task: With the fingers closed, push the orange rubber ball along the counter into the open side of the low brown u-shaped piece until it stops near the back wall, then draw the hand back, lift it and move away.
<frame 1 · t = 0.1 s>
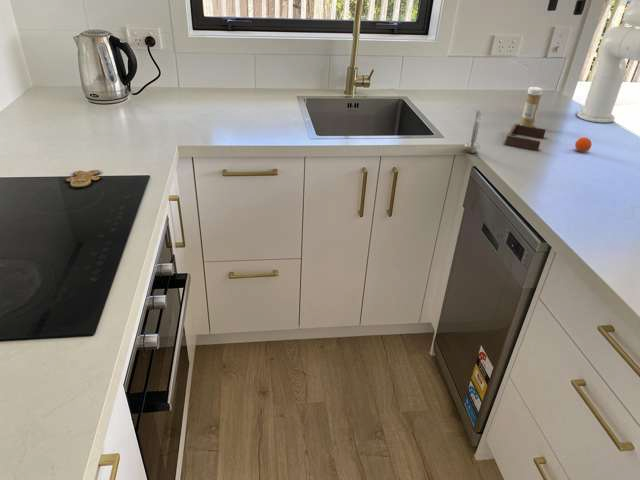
hand: (564, 12, 149), 37 cm above the worktop, tool pointing down, fingers open, 9 cm apart
cookie: (83, 180, 126), on the worktop
brown u-shaped piece: (524, 141, 158), on the worktop
screw: (470, 152, 149), on the worktop
ball: (583, 144, 150), point 2 cm above the worktop
sprinkles bottle: (526, 127, 171), on the worktop
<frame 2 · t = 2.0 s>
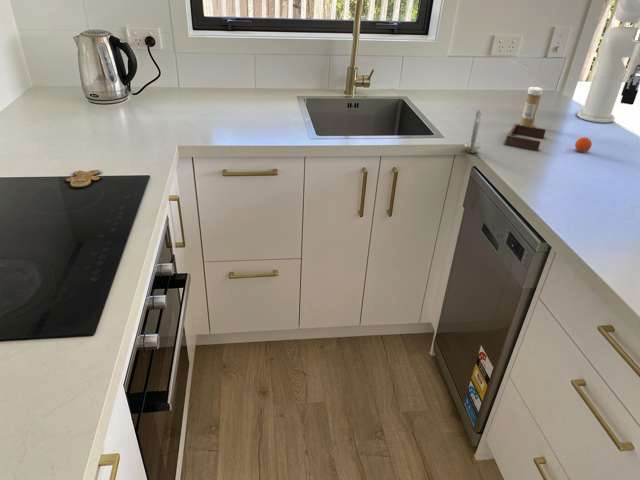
hand: (626, 99, 140), 17 cm above the worktop, tool pointing down, fingers open, 9 cm apart
nothing on the worktop moved.
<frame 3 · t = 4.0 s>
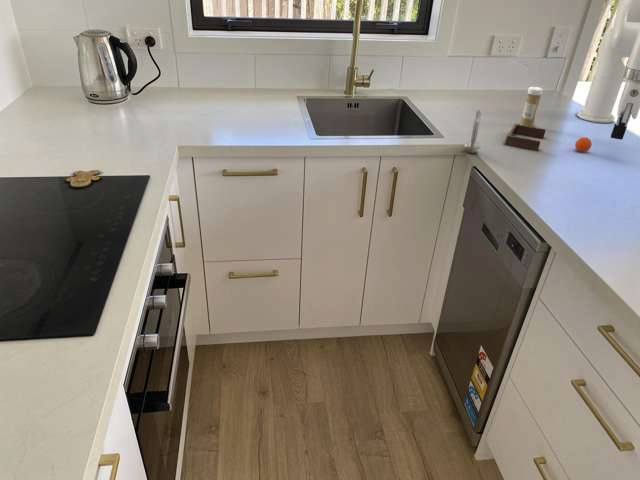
hand: (616, 137, 145), 6 cm above the worktop, tool pointing down, fingers closed
nothing on the worktop moved.
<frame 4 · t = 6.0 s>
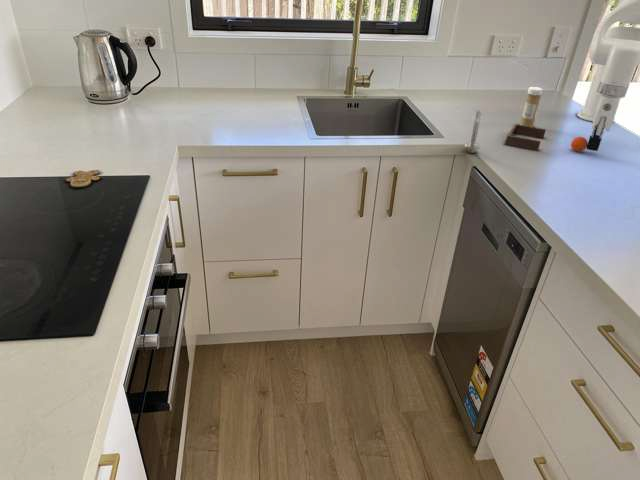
hand: (591, 149, 150), 1 cm above the worktop, tool pointing down, fingers closed
ball: (579, 144, 151), point 2 cm above the worktop, tilted 29°
everything else where it was.
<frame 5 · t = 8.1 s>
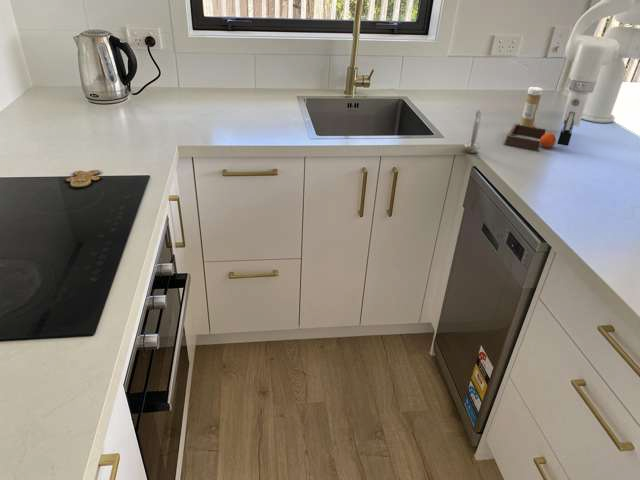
hand: (562, 144, 153), 1 cm above the worktop, tool pointing down, fingers closed
ball: (547, 140, 153), point 2 cm above the worktop, tilted 96°
everything else where it was.
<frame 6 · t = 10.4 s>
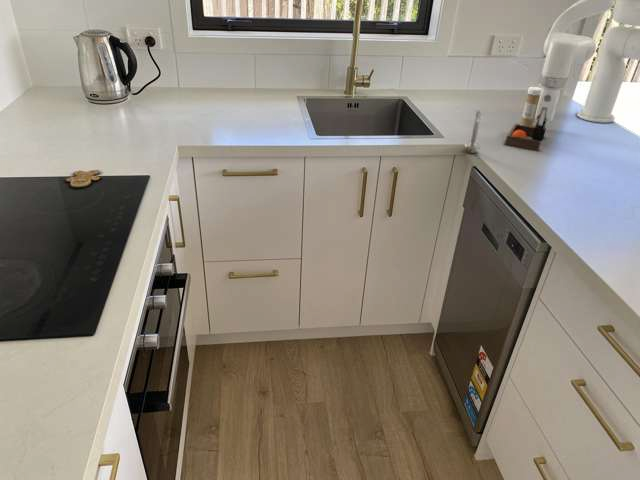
hand: (537, 139, 156), 1 cm above the worktop, tool pointing down, fingers closed
ball: (518, 136, 155), point 2 cm above the worktop, tilted 127°
everything else where it was.
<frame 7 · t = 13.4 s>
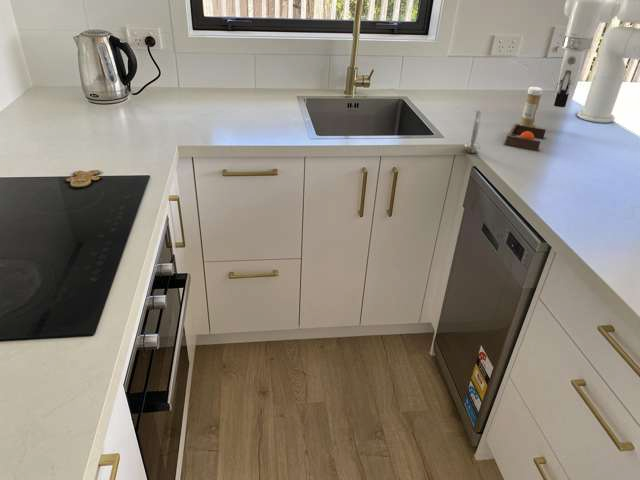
hand: (559, 106, 149), 13 cm above the worktop, tool pointing down, fingers closed
ball: (526, 138, 154), point 2 cm above the worktop, tilted 66°
everything else where it was.
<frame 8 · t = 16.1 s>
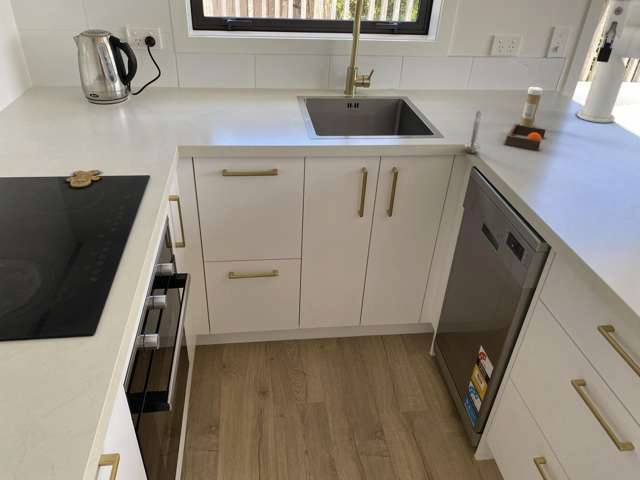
hand: (602, 61, 147), 25 cm above the worktop, tool pointing down, fingers closed
ball: (533, 139, 153), point 2 cm above the worktop, tilted 14°
everything else where it was.
at the end: ball inside the target area on the brown u-shaped piece (4.9 cm from its centre), point 2.2 cm above the brown u-shaped piece's base; ball moved 14.6 cm from its start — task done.
